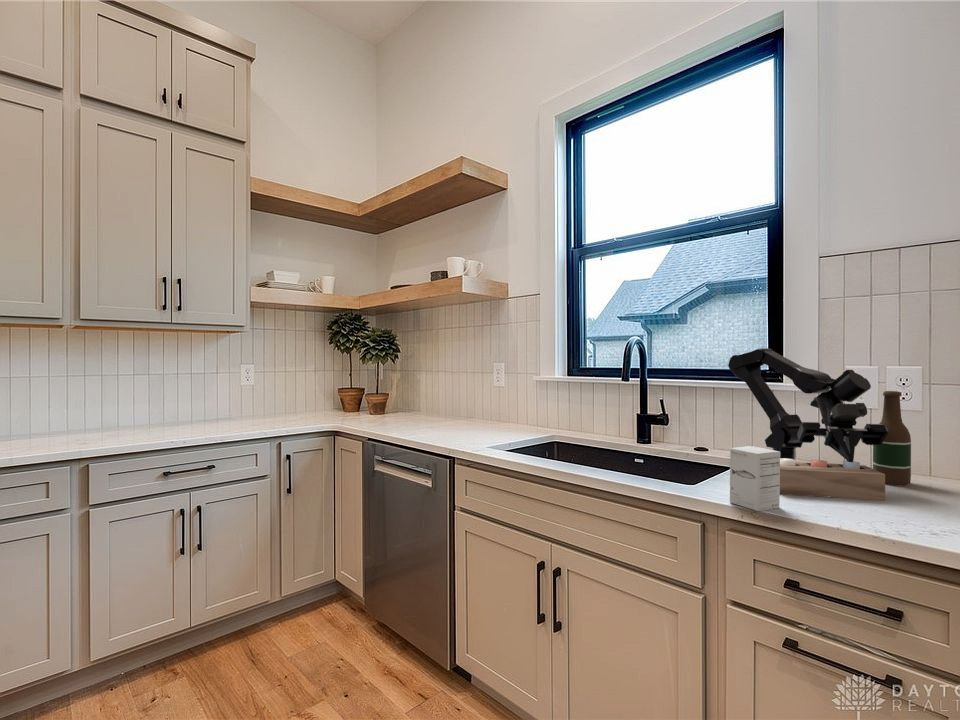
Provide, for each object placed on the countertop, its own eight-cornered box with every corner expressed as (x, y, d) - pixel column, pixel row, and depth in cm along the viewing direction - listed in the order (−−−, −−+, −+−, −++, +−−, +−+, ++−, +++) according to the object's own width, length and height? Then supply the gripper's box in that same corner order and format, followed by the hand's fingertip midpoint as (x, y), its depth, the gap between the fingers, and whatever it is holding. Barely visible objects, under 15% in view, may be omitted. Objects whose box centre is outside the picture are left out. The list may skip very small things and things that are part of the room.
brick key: (808, 475, 130) (808, 459, 130) (823, 476, 129) (824, 459, 129) (813, 478, 127) (813, 461, 127) (829, 479, 126) (829, 462, 126)
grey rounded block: (840, 477, 128) (840, 460, 128) (856, 477, 128) (856, 461, 128) (846, 480, 125) (846, 463, 125) (862, 481, 124) (862, 463, 124)
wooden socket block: (766, 483, 134) (766, 460, 134) (864, 489, 128) (865, 465, 128) (778, 493, 124) (778, 469, 124) (885, 500, 118) (885, 474, 118)
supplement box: (728, 503, 116) (728, 447, 116) (751, 499, 119) (751, 445, 119) (757, 512, 110) (757, 453, 110) (781, 508, 113) (781, 450, 113)
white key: (777, 474, 132) (777, 457, 132) (792, 475, 131) (792, 458, 131) (781, 477, 129) (782, 460, 129) (797, 478, 128) (797, 461, 128)
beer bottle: (873, 477, 141) (873, 389, 140) (910, 481, 136) (911, 391, 135) (872, 483, 134) (872, 391, 134) (911, 487, 130) (911, 392, 129)
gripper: (801, 391, 134) (816, 440, 123) (885, 392, 129) (908, 443, 118) (791, 417, 141) (805, 466, 131) (870, 419, 137) (891, 470, 126)
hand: (851, 461), depth 126 cm, fingers closed, pressing on grey rounded block
